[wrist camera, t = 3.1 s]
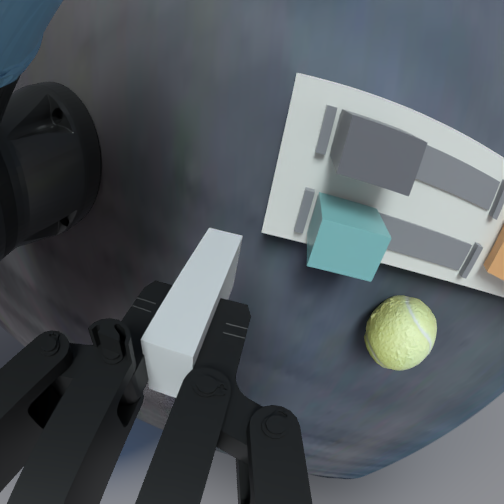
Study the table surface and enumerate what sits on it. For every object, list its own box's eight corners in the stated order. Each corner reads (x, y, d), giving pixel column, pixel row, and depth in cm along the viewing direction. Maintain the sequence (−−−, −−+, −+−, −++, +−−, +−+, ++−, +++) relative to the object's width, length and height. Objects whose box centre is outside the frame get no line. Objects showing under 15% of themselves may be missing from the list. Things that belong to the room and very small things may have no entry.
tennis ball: (396, 394, 21) (457, 354, 18) (345, 363, 21) (409, 313, 18) (393, 346, 27) (442, 306, 23) (349, 313, 27) (398, 267, 23)
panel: (265, 220, 22) (258, 242, 19) (297, 74, 16) (296, 71, 13) (525, 294, 21) (538, 314, 18) (569, 209, 15) (587, 224, 12)
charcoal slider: (329, 155, 17) (336, 173, 13) (341, 109, 15) (352, 114, 12) (389, 173, 17) (408, 196, 13) (402, 130, 15) (427, 142, 12)
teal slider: (307, 232, 20) (306, 265, 16) (319, 192, 18) (322, 218, 15) (361, 246, 20) (371, 281, 16) (376, 208, 18) (391, 238, 15)
